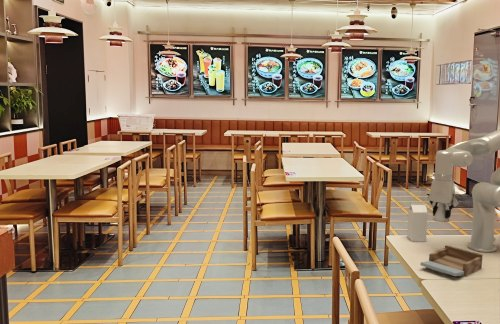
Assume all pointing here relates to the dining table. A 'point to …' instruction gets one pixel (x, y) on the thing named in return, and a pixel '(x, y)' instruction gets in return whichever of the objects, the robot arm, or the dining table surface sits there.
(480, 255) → the wooden tray
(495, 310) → the dining table surface
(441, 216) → the flask
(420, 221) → the milk carton
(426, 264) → the grey flat panel
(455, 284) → the dining table surface
